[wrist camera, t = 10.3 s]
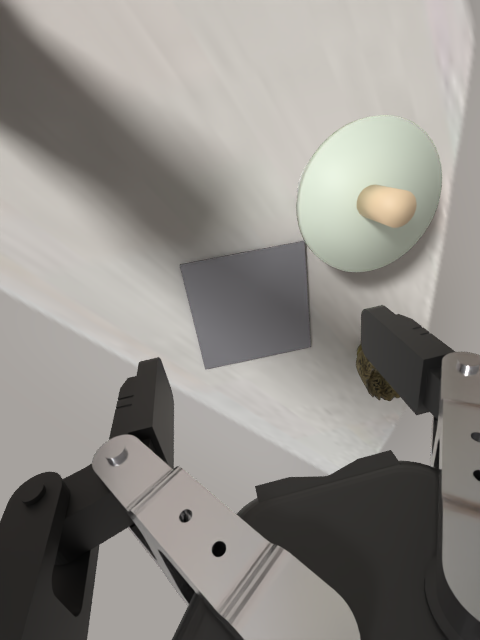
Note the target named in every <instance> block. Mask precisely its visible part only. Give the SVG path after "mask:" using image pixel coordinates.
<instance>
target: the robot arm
mask: <svg viewBox="0 0 480 640" xmlns="http://www.w3.org/2000/svg"><path fill="white" fill-rule="evenodd" d="M361 347H362V350H363V353H364V355H365V357H366V358H367V359H368V360H369V362H370V363H371V364H372V365H373V366H374V367H375V368H376V369H377V371H378V372H379V373H380V374H381V375H382V376H383V377H384V379H385V380H386V381H387V382H388V383H389V384H390V385H391V387H392V388H393V389H394V390H395V391H396V392H397V393H398V395H399V396H400V397H401V398H402V399H403V400H404V401H405V403H406V404H407V405H408V406H409V407H410V408H411V409H412V410H413V412H415V414H416V415H419V414H423V413H426V412H431V413H432V415H433V420H432V435H431V454H430V466H428V465H424V464H421V463H416V462H410V461H398V460H397V458H396V457H395V455H394V454H393V452H392V451H391V450H390V451H386V452H382V453H378V454H375V455H371V456H367V457H363V458H360V459H357V460H355V461H354V462H352V463H350V464H348V465H347V466H345V467H343V468H341V469H340V470H338V471H336V472H335V473H333V474H331V475H329V476H324V477H289V478H285V479H281V480H277V481H274V482H269V483H266V484H262V485H258V486H255V488H256V492H257V497H258V498H256V499H254V500H253V501H251V502H250V503H248V504H247V505H246V506H244V507H243V508H242V509H241V510H240V511H239V512H238V513H237V514H235V513H234V512H233V511H232V510H231V509H229V508H228V507H227V506H226V505H225V504H224V503H223V502H221V501H220V500H219V499H218V498H217V497H216V496H214V495H213V494H212V493H211V492H210V491H208V490H207V489H206V488H205V487H204V486H203V485H201V484H200V483H199V482H198V481H197V480H195V479H194V478H193V477H192V476H191V475H190V474H189V473H187V472H186V471H185V470H184V469H182V468H181V467H176V468H174V466H173V465H174V400H173V394H172V390H171V387H170V384H169V381H168V378H167V376H166V373H165V370H164V367H163V364H162V361H161V359H160V358H159V357H158V358H154V359H149V360H145V361H141V362H139V365H138V372H137V376H135V377H130V378H128V379H127V380H126V381H125V383H124V384H123V385H122V387H121V388H120V392H119V397H118V401H117V406H116V410H115V415H114V420H113V424H112V428H111V433H110V437H109V440H108V441H107V442H105V443H104V444H103V445H102V446H101V447H100V448H99V449H98V450H97V452H96V453H95V455H94V457H93V460H92V464H90V465H89V466H87V467H86V468H84V469H82V470H80V471H78V472H76V473H74V474H72V475H70V476H68V477H66V478H64V479H62V478H61V476H60V475H59V474H58V473H55V472H45V473H41V474H38V475H36V476H34V477H32V478H31V479H29V480H28V481H26V482H25V483H23V484H22V485H21V486H20V487H19V488H18V489H17V490H16V491H15V492H14V494H13V495H12V497H11V498H10V500H9V502H8V504H7V506H6V509H5V511H4V514H3V516H2V519H1V521H0V640H87V634H88V627H89V619H90V612H91V604H92V596H93V589H94V582H95V574H96V566H97V559H98V551H99V544H101V543H103V542H104V541H106V540H108V539H109V538H111V537H113V536H114V535H116V534H117V533H119V532H121V531H122V530H124V529H126V528H129V530H130V531H131V532H132V533H133V534H134V536H135V537H136V538H137V540H138V541H139V542H140V543H141V545H142V546H143V547H144V548H145V550H146V551H147V552H148V553H149V555H150V556H151V557H152V558H153V560H154V561H155V562H156V564H157V565H158V566H159V567H160V569H161V570H162V571H163V573H164V574H165V576H166V577H167V579H168V580H169V582H170V583H171V585H172V586H173V587H174V589H175V590H176V592H177V593H178V594H179V595H180V597H181V598H182V599H183V601H184V602H185V603H186V604H187V606H188V608H187V610H186V612H185V614H184V616H183V618H182V620H181V622H180V624H179V626H178V628H177V630H176V633H175V635H174V637H173V639H172V640H480V355H478V354H474V353H470V352H455V351H454V350H452V349H451V348H450V347H448V346H447V345H446V344H444V343H443V342H442V341H440V340H439V339H438V338H436V337H435V336H434V335H432V334H430V333H429V331H427V330H426V329H425V328H422V327H421V325H419V324H418V323H417V322H415V321H414V320H413V319H411V318H408V317H405V316H403V315H400V314H397V315H395V314H394V313H393V312H392V311H390V310H389V309H388V308H387V307H385V306H383V305H381V306H377V307H372V308H368V309H364V310H363V311H362V314H361Z"/></svg>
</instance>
